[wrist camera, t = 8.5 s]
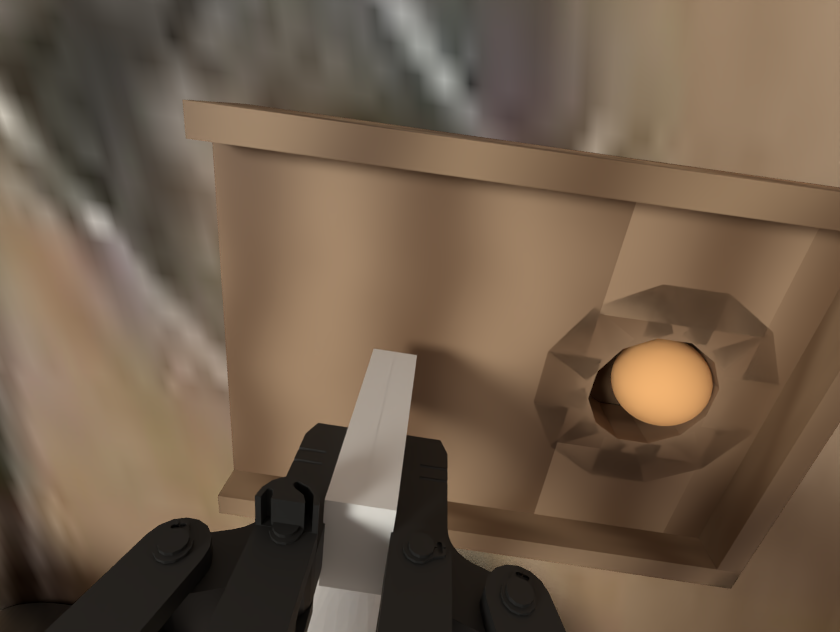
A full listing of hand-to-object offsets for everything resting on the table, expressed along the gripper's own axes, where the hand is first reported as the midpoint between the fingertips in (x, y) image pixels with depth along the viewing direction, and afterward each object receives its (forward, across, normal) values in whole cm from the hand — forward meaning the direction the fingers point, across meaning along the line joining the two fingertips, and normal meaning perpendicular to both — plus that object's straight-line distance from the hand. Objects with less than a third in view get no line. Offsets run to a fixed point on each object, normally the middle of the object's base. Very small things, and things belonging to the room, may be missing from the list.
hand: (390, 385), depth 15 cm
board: (+4, +4, 0) cm, 6 cm away
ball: (+2, +10, +1) cm, 11 cm away
